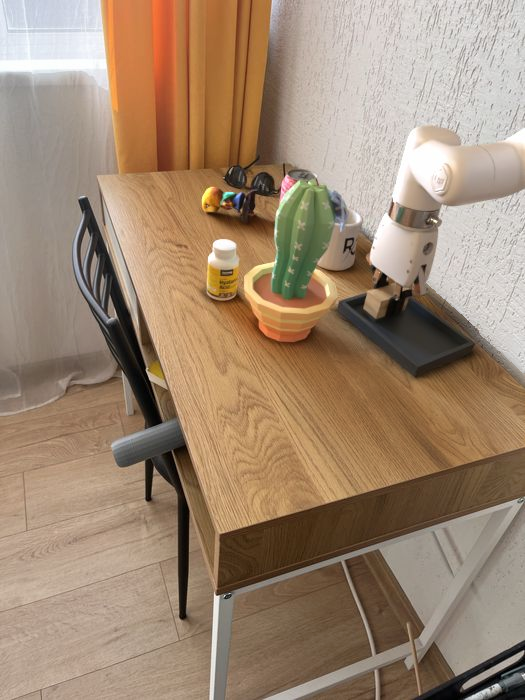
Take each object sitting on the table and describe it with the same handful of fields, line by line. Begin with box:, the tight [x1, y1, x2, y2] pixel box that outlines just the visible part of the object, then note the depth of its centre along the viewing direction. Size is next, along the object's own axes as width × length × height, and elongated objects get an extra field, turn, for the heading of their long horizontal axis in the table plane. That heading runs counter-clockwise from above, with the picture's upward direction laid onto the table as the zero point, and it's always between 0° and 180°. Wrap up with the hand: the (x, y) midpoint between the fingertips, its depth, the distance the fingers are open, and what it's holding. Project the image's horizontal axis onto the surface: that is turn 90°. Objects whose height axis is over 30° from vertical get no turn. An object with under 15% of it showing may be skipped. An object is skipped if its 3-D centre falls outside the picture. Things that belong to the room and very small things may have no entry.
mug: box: [316, 207, 364, 272], centre depth 106 cm, size 12×9×10 cm
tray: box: [336, 292, 476, 378], centre depth 90 cm, size 20×14×2 cm
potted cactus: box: [243, 179, 348, 343], centre depth 81 cm, size 15×15×25 cm
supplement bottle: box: [206, 238, 240, 302], centre depth 92 cm, size 5×5×10 cm
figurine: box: [201, 186, 258, 225], centre depth 118 cm, size 11×8×6 cm, turn 66°
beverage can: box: [278, 168, 320, 207], centre depth 114 cm, size 8×8×12 cm
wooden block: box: [362, 282, 409, 323], centre depth 92 cm, size 7×4×4 cm, turn 122°
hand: (384, 307), depth 93 cm, fingers closed on wooden block, 3 cm apart
